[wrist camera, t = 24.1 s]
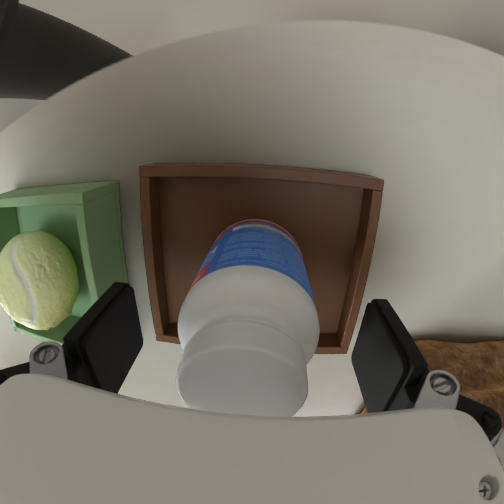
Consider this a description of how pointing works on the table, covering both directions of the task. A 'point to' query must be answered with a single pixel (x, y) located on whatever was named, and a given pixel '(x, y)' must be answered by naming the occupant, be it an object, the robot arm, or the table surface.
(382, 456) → the robot arm
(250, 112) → the table surface
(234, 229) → the pill bottle
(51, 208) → the green bin
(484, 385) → the bread
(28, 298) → the tennis ball
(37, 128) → the table surface
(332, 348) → the walnut tray
